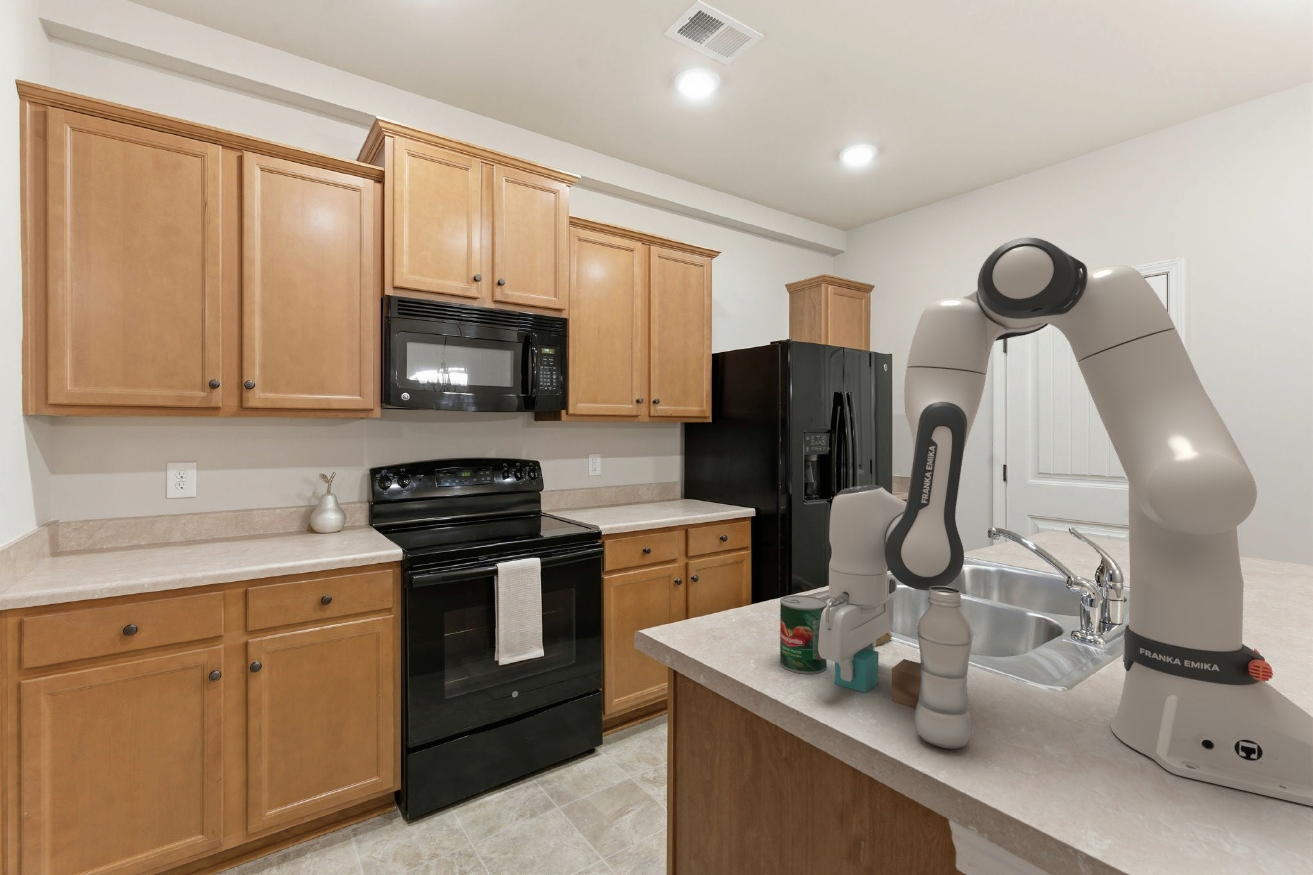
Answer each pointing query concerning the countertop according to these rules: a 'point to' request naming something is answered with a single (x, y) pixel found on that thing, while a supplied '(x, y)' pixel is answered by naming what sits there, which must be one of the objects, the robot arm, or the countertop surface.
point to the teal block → (861, 671)
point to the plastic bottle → (944, 670)
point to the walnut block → (906, 683)
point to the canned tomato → (801, 634)
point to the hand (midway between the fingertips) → (856, 673)
